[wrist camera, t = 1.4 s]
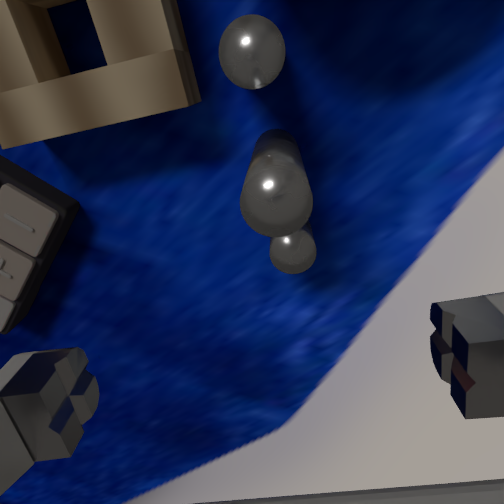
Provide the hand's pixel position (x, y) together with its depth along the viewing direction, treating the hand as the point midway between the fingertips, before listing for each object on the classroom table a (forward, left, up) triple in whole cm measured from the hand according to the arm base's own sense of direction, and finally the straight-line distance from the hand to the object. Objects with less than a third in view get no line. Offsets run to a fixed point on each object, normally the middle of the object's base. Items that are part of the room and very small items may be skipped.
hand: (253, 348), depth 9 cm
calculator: (+26, +2, -26) cm, 37 cm away
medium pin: (-1, -7, -25) cm, 26 cm away
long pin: (-1, 0, -25) cm, 25 cm away
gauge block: (+11, -11, -25) cm, 30 cm away
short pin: (-1, +7, -25) cm, 26 cm away
